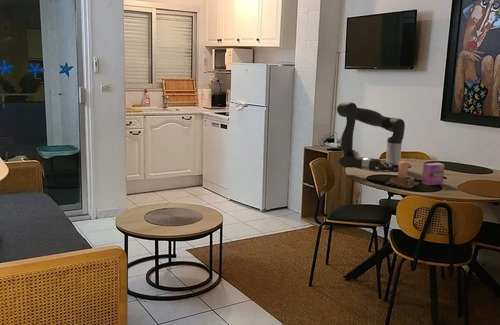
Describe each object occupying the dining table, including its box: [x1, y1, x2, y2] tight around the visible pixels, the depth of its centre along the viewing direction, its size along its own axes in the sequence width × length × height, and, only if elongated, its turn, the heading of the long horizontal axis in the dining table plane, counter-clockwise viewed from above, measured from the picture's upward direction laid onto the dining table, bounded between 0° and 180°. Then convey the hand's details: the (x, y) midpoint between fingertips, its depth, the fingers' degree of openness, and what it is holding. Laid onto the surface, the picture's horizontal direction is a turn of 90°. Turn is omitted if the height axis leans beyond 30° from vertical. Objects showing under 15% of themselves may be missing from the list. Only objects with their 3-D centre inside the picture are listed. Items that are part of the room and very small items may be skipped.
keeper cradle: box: [385, 174, 420, 189], centre depth 287 cm, size 14×15×4 cm
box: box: [421, 162, 446, 186], centre depth 288 cm, size 10×6×12 cm, turn 105°
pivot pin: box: [397, 161, 409, 180], centre depth 286 cm, size 5×5×12 cm
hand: (396, 168), depth 288 cm, fingers open, 8 cm apart
